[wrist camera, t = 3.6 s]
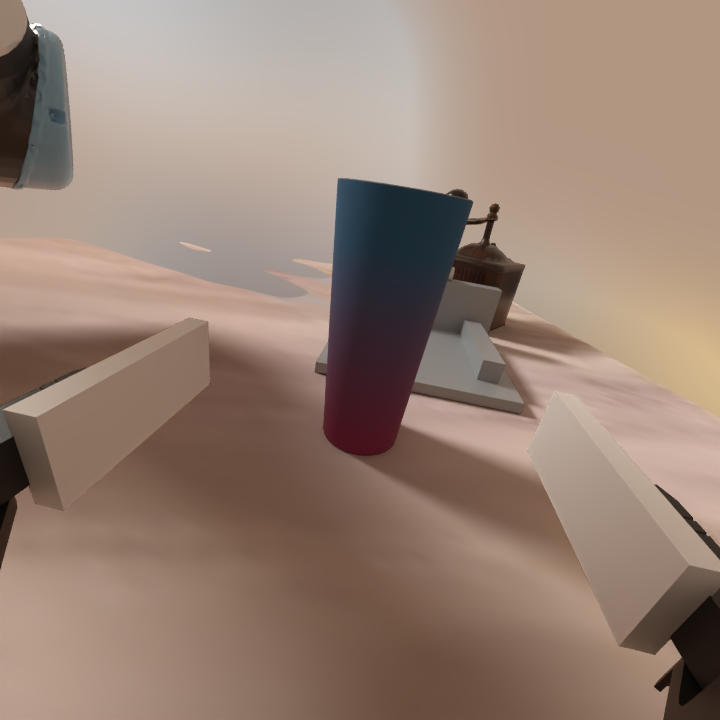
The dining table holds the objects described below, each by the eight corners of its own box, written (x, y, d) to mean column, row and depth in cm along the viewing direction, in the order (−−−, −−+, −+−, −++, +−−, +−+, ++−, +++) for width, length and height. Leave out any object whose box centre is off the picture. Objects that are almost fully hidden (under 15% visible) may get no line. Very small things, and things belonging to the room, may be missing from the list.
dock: (314, 371, 30) (325, 274, 27) (348, 314, 46) (358, 248, 43) (520, 413, 29) (561, 318, 25) (481, 339, 45) (502, 274, 42)
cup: (425, 433, 24) (492, 205, 18) (370, 483, 19) (435, 189, 13) (352, 393, 28) (386, 190, 22) (288, 427, 23) (308, 172, 16)
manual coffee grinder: (508, 323, 55) (552, 202, 48) (479, 335, 47) (526, 191, 40) (427, 296, 64) (453, 189, 56) (392, 302, 56) (416, 179, 48)
